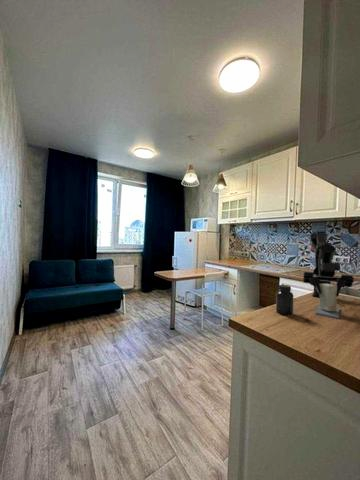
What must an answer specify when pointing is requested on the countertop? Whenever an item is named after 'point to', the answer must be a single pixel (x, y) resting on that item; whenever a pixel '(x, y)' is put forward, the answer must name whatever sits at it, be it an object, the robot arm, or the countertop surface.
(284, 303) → the supplement bottle
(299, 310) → the countertop surface
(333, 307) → the box
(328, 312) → the mat
